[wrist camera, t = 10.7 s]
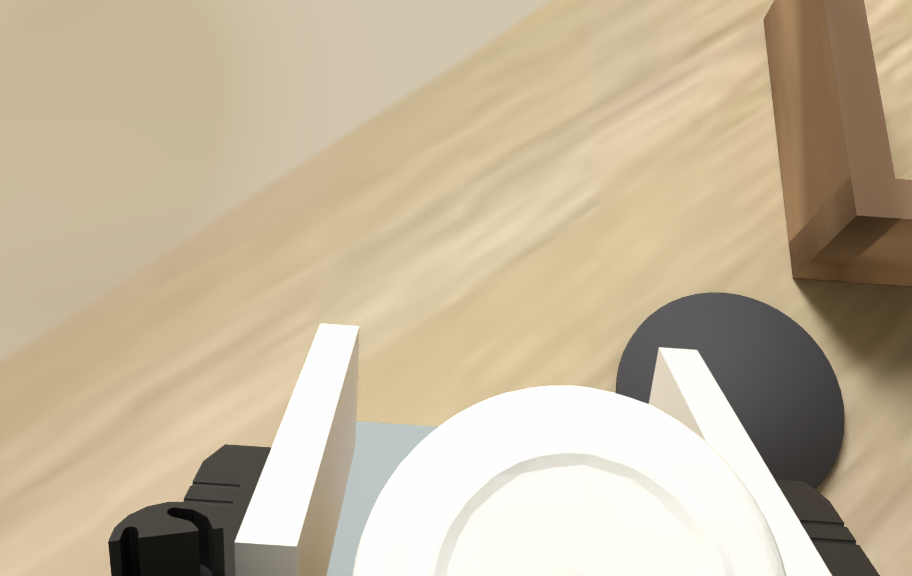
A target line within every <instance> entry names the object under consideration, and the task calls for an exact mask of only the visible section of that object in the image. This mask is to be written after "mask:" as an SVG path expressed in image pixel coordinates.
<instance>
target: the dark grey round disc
mask: <svg viewBox="0 0 912 576" xmlns="http://www.w3.org/2000/svg"><path fill="white" fill-rule="evenodd" d="M659 347H662V348H676V349H690V350H697V351H698V352H699V354H700V356H701V357H702V359H703V361H704V362H705V364H706V366H707V367H708V369H709V371H710V372H711V374H712V376H713V377H714V379H715V381H716V382H717V384H718V386H719V387H720V389H721V391H722V392H723V394H724V396H725V397H726V399H727V401H728V402H729V404H730V406H731V407H732V409H733V411H734V412H735V414H736V416H737V418H738V419H739V421H740V423H741V424H742V426H743V428H744V429H745V431H746V433H747V434H748V436H749V438H750V439H751V441H752V443H753V444H754V446H755V448H756V449H757V451H758V453H759V454H760V456H761V458H762V459H763V461H764V463H765V464H766V466H767V468H768V469H769V471H770V473H771V474H772V476H773V478H774V479H775V480H789V481H804V482H806V483H807V484H808V485H809V486H811V487H812V488H813V489H815V488H816V487H817V486H818V485H819V484H820V483H821V482H822V480H823V479H824V478H825V477H826V475H827V474H828V473H829V471H830V469H831V467H832V466H833V464H834V462H835V460H836V458H837V455H838V452H839V450H840V447H841V442H842V438H843V433H844V405H843V400H842V395H841V390H840V387H839V384H838V381H837V378H836V375H835V373H834V371H833V369H832V367H831V365H830V363H829V361H828V359H827V358H826V356H825V355H824V353H823V351H822V350H821V349H820V347H819V346H818V345H817V343H816V342H815V341H814V340H813V338H812V337H811V336H810V335H809V334H808V333H807V332H806V331H805V330H804V329H803V328H802V327H801V326H799V325H798V324H797V323H796V322H795V321H793V320H792V319H791V318H789V317H788V316H786V315H785V314H783V313H782V312H780V311H779V310H777V309H775V308H773V307H771V306H769V305H767V304H765V303H763V302H760V301H757V300H755V299H752V298H749V297H745V296H741V295H736V294H729V293H702V294H694V295H690V296H686V297H682V298H680V299H677V300H675V301H672V302H670V303H668V304H666V305H665V306H663V307H661V308H659V309H658V310H657V311H655V312H654V313H653V314H652V315H650V316H649V317H648V318H647V319H646V320H645V321H644V322H643V323H642V324H641V325H640V326H639V328H638V329H637V330H636V332H635V333H634V335H633V336H632V337H631V339H630V340H629V342H628V344H627V346H626V348H625V350H624V352H623V355H622V358H621V361H620V364H619V368H618V373H617V380H616V394H620V395H623V396H626V397H629V398H633V399H635V400H638V401H641V402H644V403H647V404H649V399H650V394H651V388H652V383H653V377H654V372H655V366H656V361H657V355H658V349H659Z"/></svg>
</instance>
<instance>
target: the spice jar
mask: <svg viewBox="0 0 912 576" xmlns="http://www.w3.org/2000/svg"><path fill="white" fill-rule="evenodd" d="M352 576H787V575H786V571H785V567H784V563H783V560H782V556H781V553H780V551H779V548H778V545H777V542H776V540H775V537H774V535H773V533H772V530H771V528H770V526H769V524H768V522H767V519H766V517H765V516H764V514H763V513H762V511H761V509H760V507H759V505H758V503H757V502H756V500H755V499H754V497H753V496H752V494H751V493H750V491H749V490H748V488H747V487H746V485H745V483H744V482H743V481H742V480H741V478H740V477H739V476H738V475H737V474H736V472H735V471H734V470H733V469H732V467H731V466H730V465H729V464H728V463H727V461H726V460H725V459H724V458H723V457H722V456H721V455H720V454H719V453H718V452H717V451H716V450H714V449H713V448H712V447H711V446H710V445H709V444H708V443H707V442H706V441H705V440H703V439H702V438H701V437H699V436H698V435H697V434H695V433H694V432H693V431H692V430H690V429H689V428H688V427H686V426H685V425H684V424H682V423H681V422H680V421H678V420H676V419H675V418H673V417H671V416H669V415H668V414H666V413H664V412H663V411H661V410H659V409H657V408H656V407H654V406H651V405H649V404H647V403H644V402H641V401H638V400H635V399H633V398H629V397H626V396H623V395H620V394H616V393H613V392H608V391H603V390H599V389H594V388H588V387H580V386H541V387H533V388H527V389H522V390H518V391H513V392H508V393H504V394H501V395H498V396H495V397H492V398H489V399H486V400H484V401H482V402H480V403H477V404H475V405H473V406H471V407H469V408H468V409H466V410H464V411H462V412H460V413H458V414H456V415H455V416H453V417H452V418H450V419H449V420H447V421H446V422H444V423H443V424H442V425H441V426H439V427H438V428H437V429H435V430H434V431H433V432H432V433H430V434H429V435H428V436H427V437H426V438H425V439H424V440H423V441H421V442H420V443H419V444H418V445H417V446H416V447H415V448H414V449H413V450H412V451H411V453H410V454H409V455H408V456H407V457H406V458H405V459H404V460H403V461H402V462H401V463H400V465H399V466H398V467H397V469H396V470H395V472H394V473H393V475H392V476H391V477H390V479H389V480H388V482H387V483H386V485H385V486H384V488H383V490H382V491H381V493H380V495H379V497H378V499H377V501H376V503H375V505H374V507H373V509H372V511H371V513H370V516H369V518H368V521H367V523H366V526H365V528H364V531H363V533H362V536H361V539H360V543H359V546H358V550H357V554H356V558H355V563H354V569H353V574H352Z"/></svg>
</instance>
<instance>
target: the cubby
mask: <svg viewBox="0 0 912 576" xmlns="http://www.w3.org/2000/svg"><path fill="white" fill-rule="evenodd" d="M764 27H765V36H766V44H767V53H768V62H769V71H770V80H771V89H772V97H773V106H774V115H775V124H776V133H777V142H778V150H779V159H780V168H781V177H782V186H783V194H784V203H785V212H786V221H787V230H788V239H789V247H790V256H791V265H792V274H793V278H801V279H814V280H828V281H842V282H856V283H870V284H883V285H897V286H911V287H912V180H902V179H895V175H894V170H893V164H892V158H891V152H890V147H889V141H888V135H887V130H886V124H885V118H884V113H883V107H882V101H881V96H880V90H879V84H878V79H877V73H876V67H875V62H874V56H873V50H872V45H871V39H870V33H869V28H868V22H867V16H866V10H865V5H864V0H774V2H773V4H772V5H771V7H770V9H769V11H768V13H767V14H766V16H765V18H764Z"/></svg>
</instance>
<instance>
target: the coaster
mask: <svg viewBox="0 0 912 576" xmlns="http://www.w3.org/2000/svg"><path fill="white" fill-rule="evenodd" d="M437 428H438V427H432V426H418V425H403V424H388V423H374V422H359V421H356V437H355V449H354V454H353V458H352V463H351V467H350V472H349V476H348V481H347V485H346V490H345V494H344V499H343V503H342V508H341V512H340V517H339V521H338V526H337V530H336V535H335V539H334V544H333V548H332V553H331V557H330V562H329V566H328V571H327V575H326V576H352V574H353V569H354V563H355V558H356V554H357V550H358V546H359V543H360V539H361V536H362V533H363V531H364V528H365V526H366V523H367V521H368V518H369V516H370V513H371V511H372V509H373V507H374V505H375V503H376V501H377V499H378V497H379V495H380V493H381V491H382V490H383V488H384V486H385V485H386V483H387V482H388V480H389V479H390V477H391V476H392V475H393V473H394V472H395V470H396V469H397V467H398V466H399V465H400V463H401V462H402V461H403V460H404V459H405V458H406V457H407V456H408V455H409V454H410V453H411V451H412V450H413V449H414V448H415V447H416V446H417V445H418V444H419V443H420V442H421V441H423V440H424V439H425V438H426V437H427V436H428V435H429V434H430V433H432V432H433V431H434V430H435V429H437Z"/></svg>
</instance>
